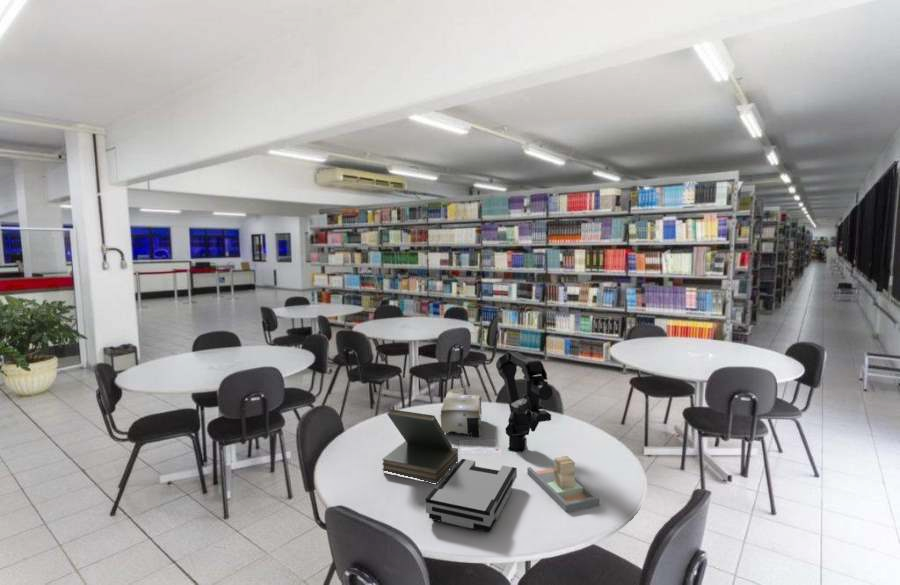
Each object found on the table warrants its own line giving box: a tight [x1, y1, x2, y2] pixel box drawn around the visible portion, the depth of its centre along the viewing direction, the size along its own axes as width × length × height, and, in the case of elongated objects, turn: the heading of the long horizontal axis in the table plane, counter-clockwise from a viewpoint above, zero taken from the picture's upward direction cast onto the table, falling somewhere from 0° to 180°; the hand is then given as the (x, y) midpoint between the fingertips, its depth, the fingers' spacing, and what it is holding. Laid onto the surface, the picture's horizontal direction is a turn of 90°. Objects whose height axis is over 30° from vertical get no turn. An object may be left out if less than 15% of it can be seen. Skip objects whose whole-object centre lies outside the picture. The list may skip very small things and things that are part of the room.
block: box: [553, 455, 576, 490], centre depth 161 cm, size 5×5×9 cm
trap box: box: [526, 466, 600, 513], centre depth 164 cm, size 27×12×2 cm, turn 17°
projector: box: [439, 387, 483, 438], centre depth 225 cm, size 18×33×13 cm, turn 173°
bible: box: [382, 408, 459, 483], centre depth 180 cm, size 23×20×25 cm
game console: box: [425, 458, 518, 533], centre depth 155 cm, size 21×32×8 cm, turn 158°
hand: (532, 431), depth 182 cm, fingers closed
